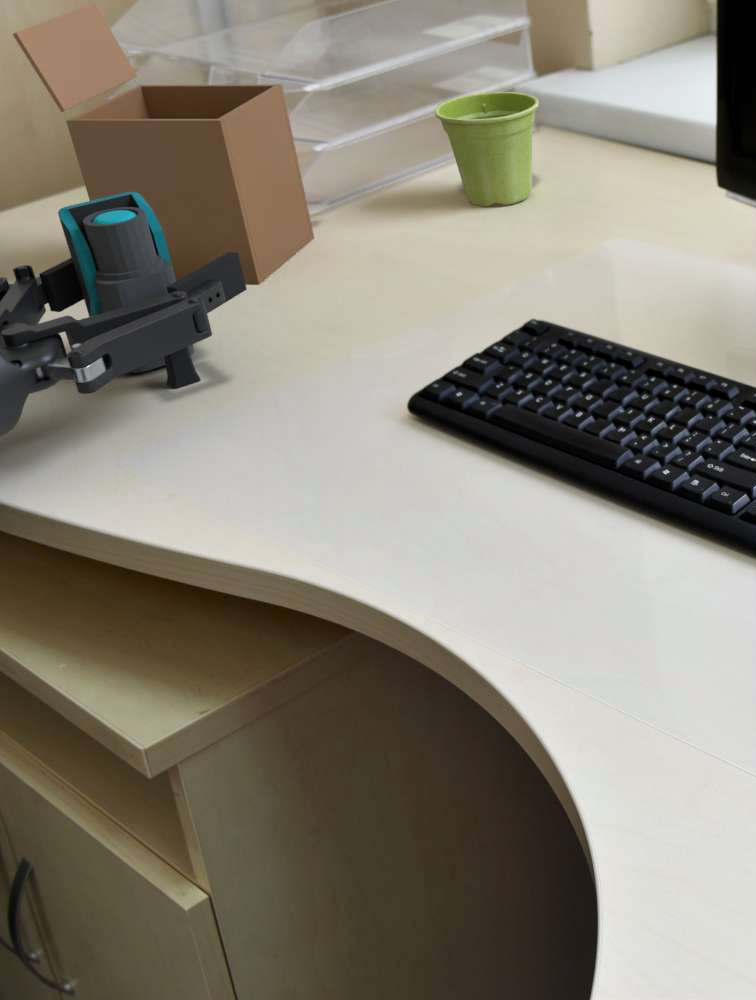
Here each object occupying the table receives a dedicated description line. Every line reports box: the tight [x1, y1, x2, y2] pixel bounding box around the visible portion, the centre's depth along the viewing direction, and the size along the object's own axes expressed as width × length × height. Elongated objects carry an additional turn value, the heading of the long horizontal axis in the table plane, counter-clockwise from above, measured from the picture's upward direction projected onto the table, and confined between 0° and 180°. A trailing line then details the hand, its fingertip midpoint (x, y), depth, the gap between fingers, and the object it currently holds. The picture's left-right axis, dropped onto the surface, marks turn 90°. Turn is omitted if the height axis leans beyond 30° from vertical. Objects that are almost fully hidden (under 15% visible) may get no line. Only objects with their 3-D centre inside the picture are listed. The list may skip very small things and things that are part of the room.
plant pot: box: [434, 91, 540, 207], centre depth 128 cm, size 9×9×9 cm
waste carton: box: [66, 83, 315, 285], centre depth 115 cm, size 13×11×14 cm
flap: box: [12, 3, 138, 113], centre depth 111 cm, size 6×11×1 cm
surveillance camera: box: [57, 192, 202, 390], centre depth 94 cm, size 6×12×10 cm
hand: (175, 264), depth 97 cm, fingers closed on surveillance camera, 10 cm apart
